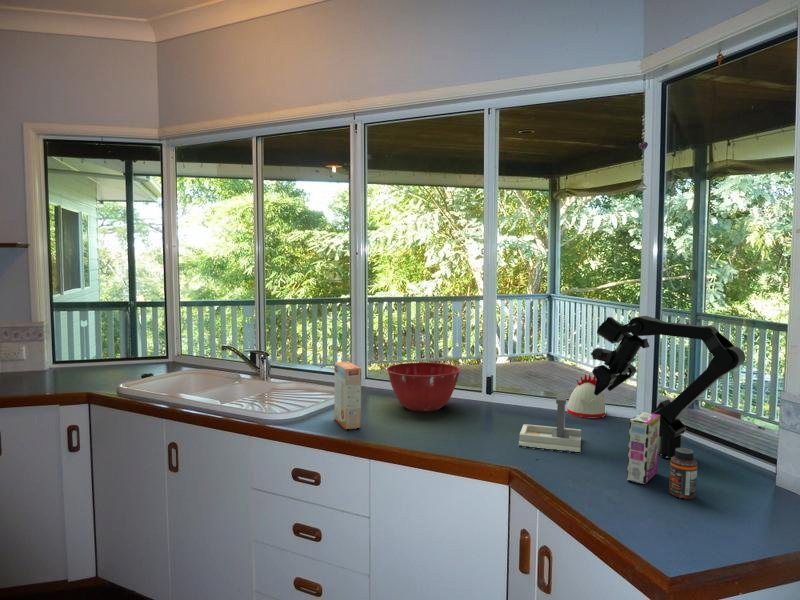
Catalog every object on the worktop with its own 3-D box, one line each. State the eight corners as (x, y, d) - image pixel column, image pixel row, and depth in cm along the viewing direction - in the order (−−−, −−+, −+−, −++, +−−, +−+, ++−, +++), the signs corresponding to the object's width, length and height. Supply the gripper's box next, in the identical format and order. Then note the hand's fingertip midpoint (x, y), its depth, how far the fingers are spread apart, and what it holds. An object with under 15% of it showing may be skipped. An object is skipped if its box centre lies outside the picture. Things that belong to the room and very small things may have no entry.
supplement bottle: (663, 492, 139) (665, 447, 139) (681, 488, 141) (683, 444, 141) (683, 501, 134) (685, 455, 133) (701, 498, 136) (703, 452, 135)
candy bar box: (646, 486, 143) (648, 423, 142) (626, 481, 146) (628, 419, 145) (658, 473, 151) (661, 413, 150) (639, 469, 155) (641, 410, 153)
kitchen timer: (608, 419, 202) (610, 378, 201) (569, 417, 205) (570, 377, 204) (602, 409, 216) (604, 371, 215) (565, 407, 219) (566, 369, 218)
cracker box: (362, 428, 190) (362, 367, 188) (344, 430, 188) (344, 369, 186) (350, 417, 203) (350, 360, 201) (333, 419, 201) (333, 361, 199)
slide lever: (569, 434, 178) (570, 394, 177) (568, 443, 170) (569, 400, 169) (553, 433, 180) (554, 393, 179) (551, 441, 172) (552, 399, 171)
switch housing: (580, 439, 180) (581, 428, 180) (580, 453, 167) (580, 441, 167) (523, 433, 186) (523, 423, 185) (518, 446, 172) (519, 435, 172)
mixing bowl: (378, 401, 227) (378, 363, 226) (443, 396, 236) (444, 359, 235) (398, 420, 200) (399, 377, 199) (472, 413, 209) (472, 372, 208)
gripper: (617, 335, 185) (595, 373, 191) (589, 340, 172) (567, 381, 178) (647, 354, 178) (623, 393, 184) (621, 361, 165) (596, 403, 171)
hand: (602, 392), depth 180 cm, fingers open, 9 cm apart
